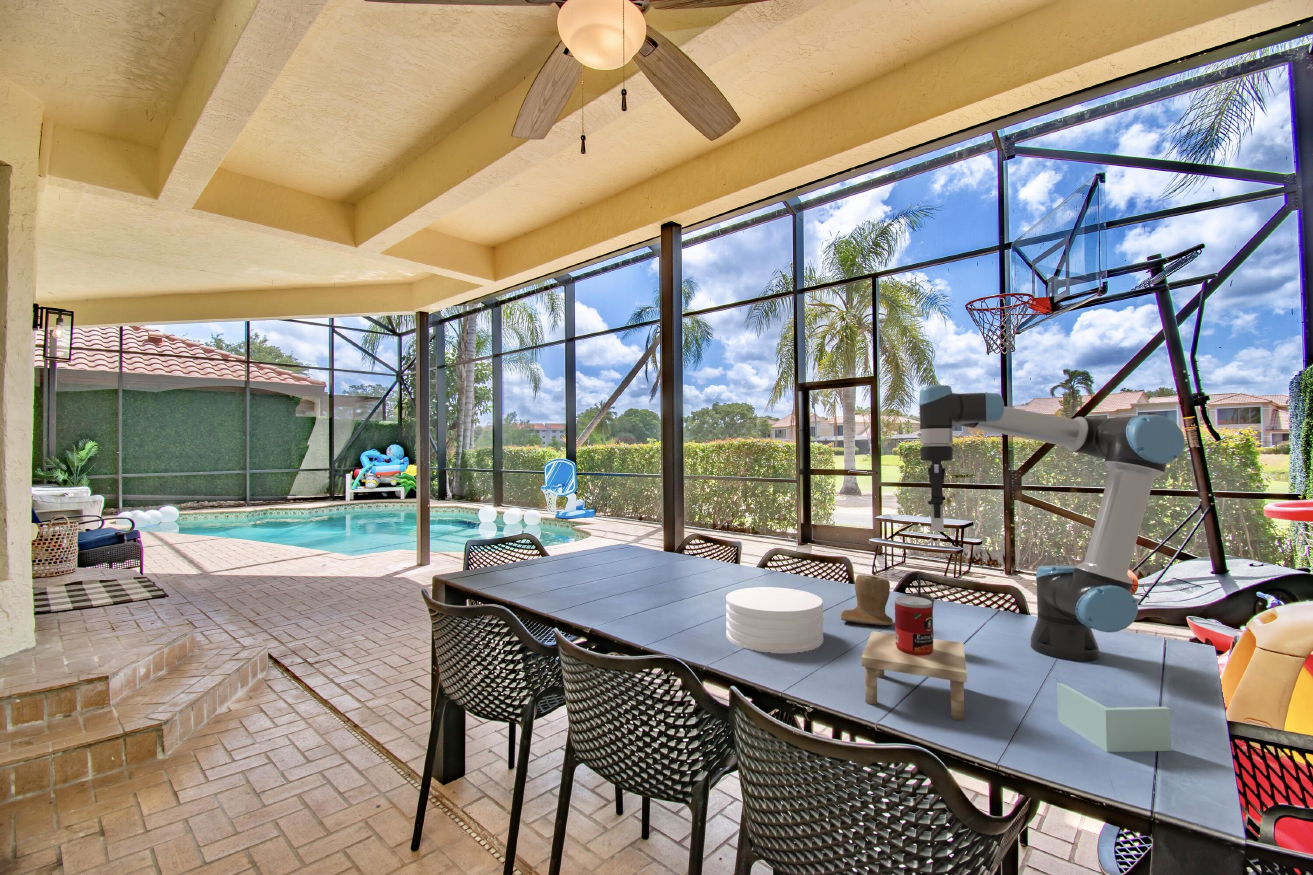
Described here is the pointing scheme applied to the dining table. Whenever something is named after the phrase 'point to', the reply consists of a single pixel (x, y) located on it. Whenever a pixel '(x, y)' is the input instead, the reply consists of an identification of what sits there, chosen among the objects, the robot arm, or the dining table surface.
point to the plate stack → (774, 619)
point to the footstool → (916, 666)
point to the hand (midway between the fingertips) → (937, 528)
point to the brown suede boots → (869, 601)
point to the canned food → (914, 625)
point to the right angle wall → (1114, 723)
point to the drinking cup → (921, 593)
